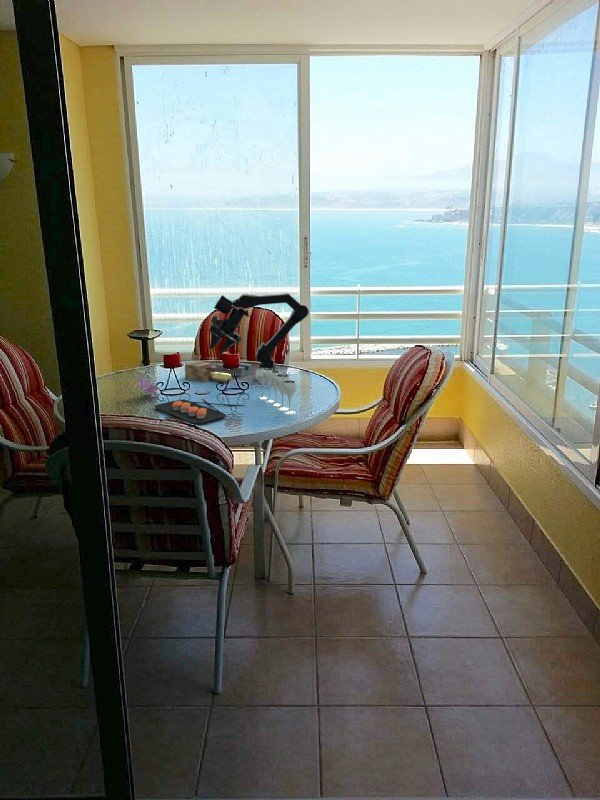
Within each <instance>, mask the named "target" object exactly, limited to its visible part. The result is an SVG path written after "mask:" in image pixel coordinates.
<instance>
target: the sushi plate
mask: <svg viewBox="0 0 600 800" xmlns="http://www.w3.org/2000/svg"><path fill="white" fill-rule="evenodd" d="M201 400H202V401H203V402H200V401H199V402H198V401H191V400H187V399H177V400H171V401H167V402H162V403H159V404H155V405H154V408H155V409H156V410H158V411H160V412H164V413H166V414H169V415H171V416H173V417H176V418H179V419H181V420H183V421H186V422H189V423H192V424H204V423H208V422H212V421H216V420H219V419H223V418H224V417H226V416H227V414H226V413H224V412H221V411H220V410H219V409H217V408H216V407H214V406H213V405H216V406H217V405H218V406H228V407H246V406H245V404H242V405H241V404H233V403H232V404H230V403H217V402H216V403H214V402H208V401H207V400H205V399H204V398H201ZM202 404H204V405H202ZM205 404H206V405H208V406H210V407H211V408H210V407H208V406H205Z"/></svg>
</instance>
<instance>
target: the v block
mask: <svg viewBox="0 0 600 800" xmlns="http://www.w3.org/2000/svg"><path fill="white" fill-rule="evenodd" d="M239 363H240V366H239V368H237V369H234V370H228V369H224V368H223V364H224V363H218V364H217V363H216V365H215V367H217V372H220V373H226V374H229V372H230V374H231V375H233V373H235V374H236V376H234V375H233V376H232V377H237V378H238V377H239V378H242V377H245V376H247V375H251V374H253V371H254V368H253V364H250V363H245V362H244V363H243V362H239Z"/></svg>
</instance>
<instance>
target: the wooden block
mask: <svg viewBox="0 0 600 800" xmlns="http://www.w3.org/2000/svg"><path fill="white" fill-rule="evenodd" d="M209 371H213V372H217V367H216V366H213V363H211V362H206V361H205V362H204V361H198V360H194V361H192V362H188V363H184V378H185V379H186V378H187V380H192V381H193V380H194V381H199V382H205V383H208V382H209V381H210V380H209Z"/></svg>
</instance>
